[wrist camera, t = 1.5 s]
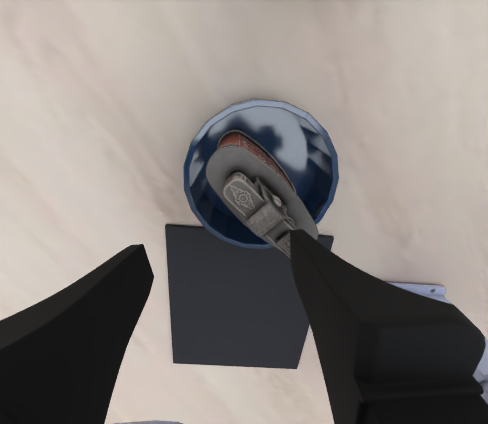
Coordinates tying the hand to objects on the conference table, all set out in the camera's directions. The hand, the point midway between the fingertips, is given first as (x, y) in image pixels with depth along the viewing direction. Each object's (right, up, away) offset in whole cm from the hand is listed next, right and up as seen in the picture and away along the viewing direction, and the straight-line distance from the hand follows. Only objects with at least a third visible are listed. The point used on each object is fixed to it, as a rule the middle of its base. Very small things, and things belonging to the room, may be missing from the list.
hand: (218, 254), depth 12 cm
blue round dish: (+2, +6, +9) cm, 11 cm away
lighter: (+2, +6, +9) cm, 11 cm away
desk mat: (+1, -9, +16) cm, 18 cm away
